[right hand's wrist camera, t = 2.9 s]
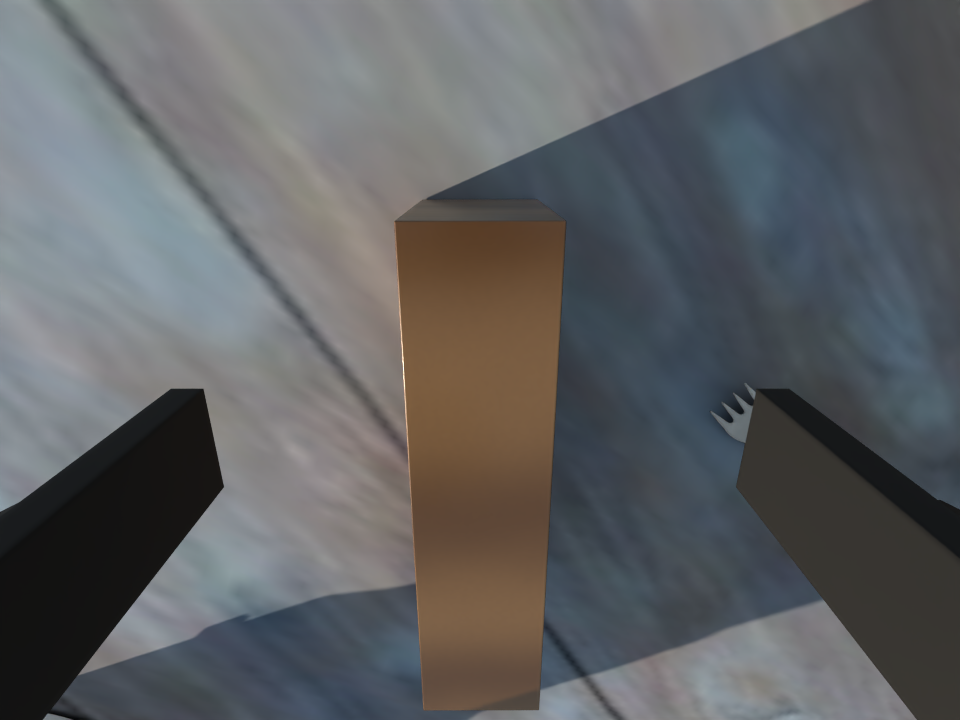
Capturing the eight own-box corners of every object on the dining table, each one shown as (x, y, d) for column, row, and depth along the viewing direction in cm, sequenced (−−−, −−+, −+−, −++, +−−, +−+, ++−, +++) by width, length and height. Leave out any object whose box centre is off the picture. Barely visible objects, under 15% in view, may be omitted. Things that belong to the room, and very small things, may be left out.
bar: (422, 199, 25) (393, 220, 17) (537, 199, 25) (566, 220, 17) (437, 573, 33) (423, 710, 25) (524, 573, 33) (539, 710, 25)
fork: (854, 558, 32) (877, 582, 30) (692, 398, 28) (707, 415, 26) (892, 533, 32) (918, 556, 30) (731, 365, 28) (749, 380, 26)
